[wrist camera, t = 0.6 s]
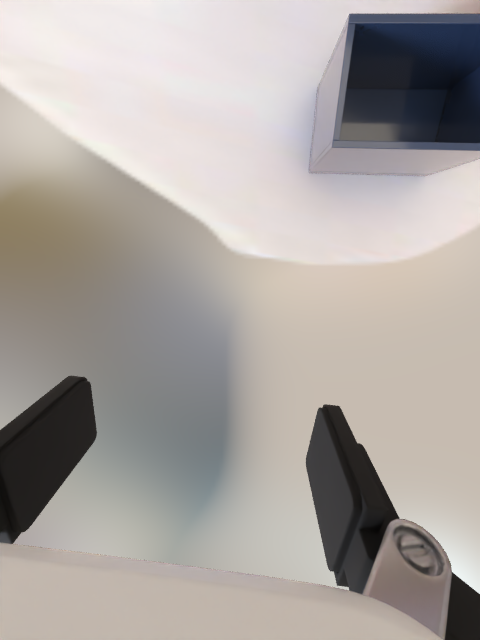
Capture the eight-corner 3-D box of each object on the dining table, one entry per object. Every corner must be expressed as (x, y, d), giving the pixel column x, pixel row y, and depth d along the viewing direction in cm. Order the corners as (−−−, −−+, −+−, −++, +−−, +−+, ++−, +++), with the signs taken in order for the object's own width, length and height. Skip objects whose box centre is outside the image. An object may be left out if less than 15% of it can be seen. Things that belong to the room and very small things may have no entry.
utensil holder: (317, 86, 31) (349, 13, 20) (447, 88, 30) (549, 13, 20) (308, 173, 34) (331, 147, 23) (426, 176, 33) (504, 151, 23)
